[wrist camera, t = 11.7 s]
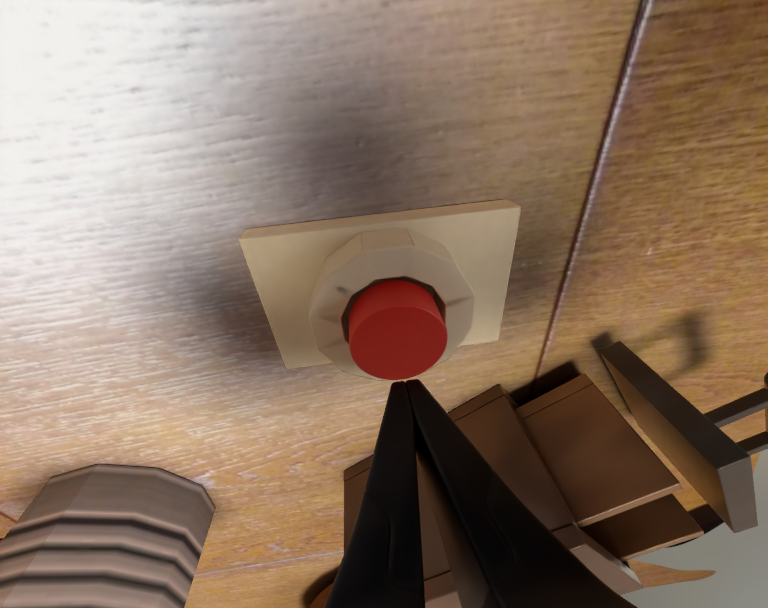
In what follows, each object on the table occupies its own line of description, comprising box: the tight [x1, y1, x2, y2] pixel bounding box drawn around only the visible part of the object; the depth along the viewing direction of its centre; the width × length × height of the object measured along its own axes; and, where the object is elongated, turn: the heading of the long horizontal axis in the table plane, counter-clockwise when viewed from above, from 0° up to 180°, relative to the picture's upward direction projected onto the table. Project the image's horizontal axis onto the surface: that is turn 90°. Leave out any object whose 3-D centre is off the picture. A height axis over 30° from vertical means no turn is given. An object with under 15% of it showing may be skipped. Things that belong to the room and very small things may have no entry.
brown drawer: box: [515, 341, 768, 562], centre depth 18 cm, size 17×10×7 cm, turn 129°
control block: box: [238, 199, 521, 381], centre depth 13 cm, size 11×7×3 cm, turn 95°
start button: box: [349, 280, 448, 380], centre depth 12 cm, size 4×4×2 cm
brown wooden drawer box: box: [344, 385, 643, 608], centre depth 21 cm, size 14×12×9 cm
